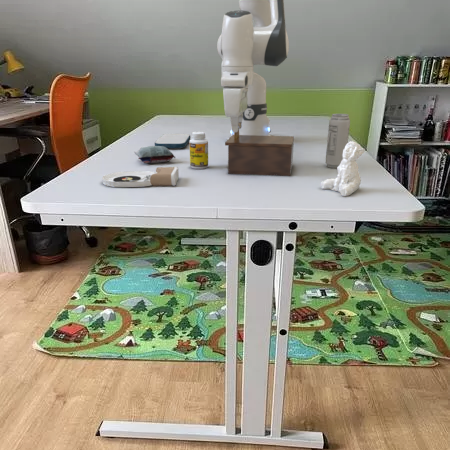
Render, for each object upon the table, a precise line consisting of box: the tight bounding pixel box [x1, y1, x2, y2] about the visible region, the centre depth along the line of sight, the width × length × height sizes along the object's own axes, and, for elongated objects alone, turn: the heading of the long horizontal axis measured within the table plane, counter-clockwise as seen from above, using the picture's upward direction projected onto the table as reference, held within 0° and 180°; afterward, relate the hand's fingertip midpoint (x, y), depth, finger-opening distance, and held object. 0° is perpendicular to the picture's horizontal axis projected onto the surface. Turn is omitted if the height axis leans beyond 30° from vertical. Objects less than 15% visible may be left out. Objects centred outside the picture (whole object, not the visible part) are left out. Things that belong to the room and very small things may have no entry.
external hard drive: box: [154, 133, 191, 149], centre depth 175 cm, size 24×12×2 cm, turn 178°
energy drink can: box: [324, 113, 351, 169], centre depth 137 cm, size 6×6×15 cm
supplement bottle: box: [188, 131, 209, 170], centre depth 137 cm, size 6×6×10 cm
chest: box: [227, 139, 295, 177], centre depth 135 cm, size 18×14×8 cm
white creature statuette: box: [320, 140, 366, 197], centre depth 113 cm, size 10×9×12 cm
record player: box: [101, 166, 180, 188], centre depth 123 cm, size 12×3×20 cm
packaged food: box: [133, 145, 176, 164], centre depth 146 cm, size 9×12×5 cm
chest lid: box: [224, 123, 295, 147], centre depth 132 cm, size 19×14×5 cm
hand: (236, 130), depth 133 cm, fingers closed on chest lid, 5 cm apart
